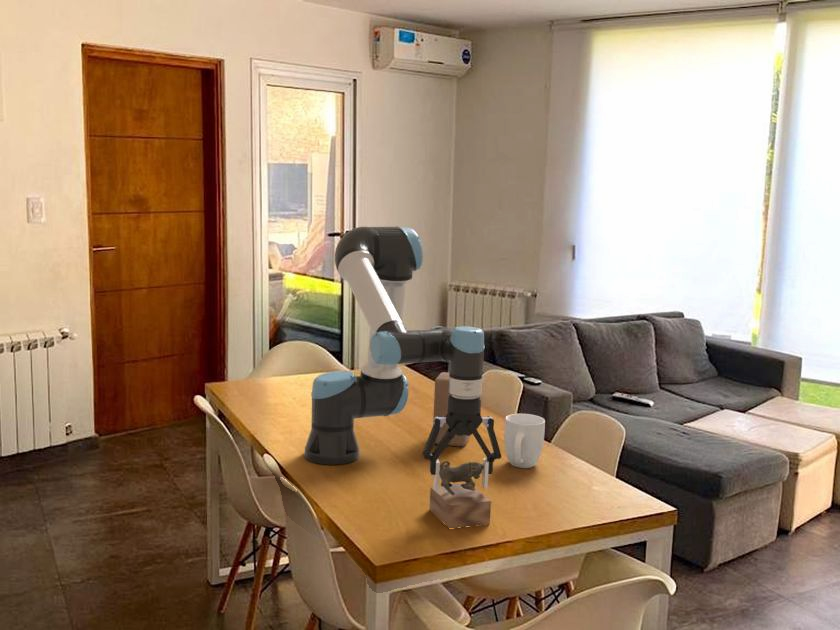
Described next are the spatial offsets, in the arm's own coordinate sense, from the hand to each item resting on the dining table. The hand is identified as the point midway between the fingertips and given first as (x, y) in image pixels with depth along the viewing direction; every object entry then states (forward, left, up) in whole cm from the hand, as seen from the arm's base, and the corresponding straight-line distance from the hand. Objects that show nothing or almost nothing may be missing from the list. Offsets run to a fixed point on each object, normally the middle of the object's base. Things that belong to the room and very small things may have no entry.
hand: (460, 487), depth 198 cm
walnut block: (0, 0, -7) cm, 7 cm away
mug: (+24, +35, -7) cm, 43 cm away
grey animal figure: (0, 0, -1) cm, 1 cm away
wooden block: (+8, +57, -7) cm, 58 cm away
